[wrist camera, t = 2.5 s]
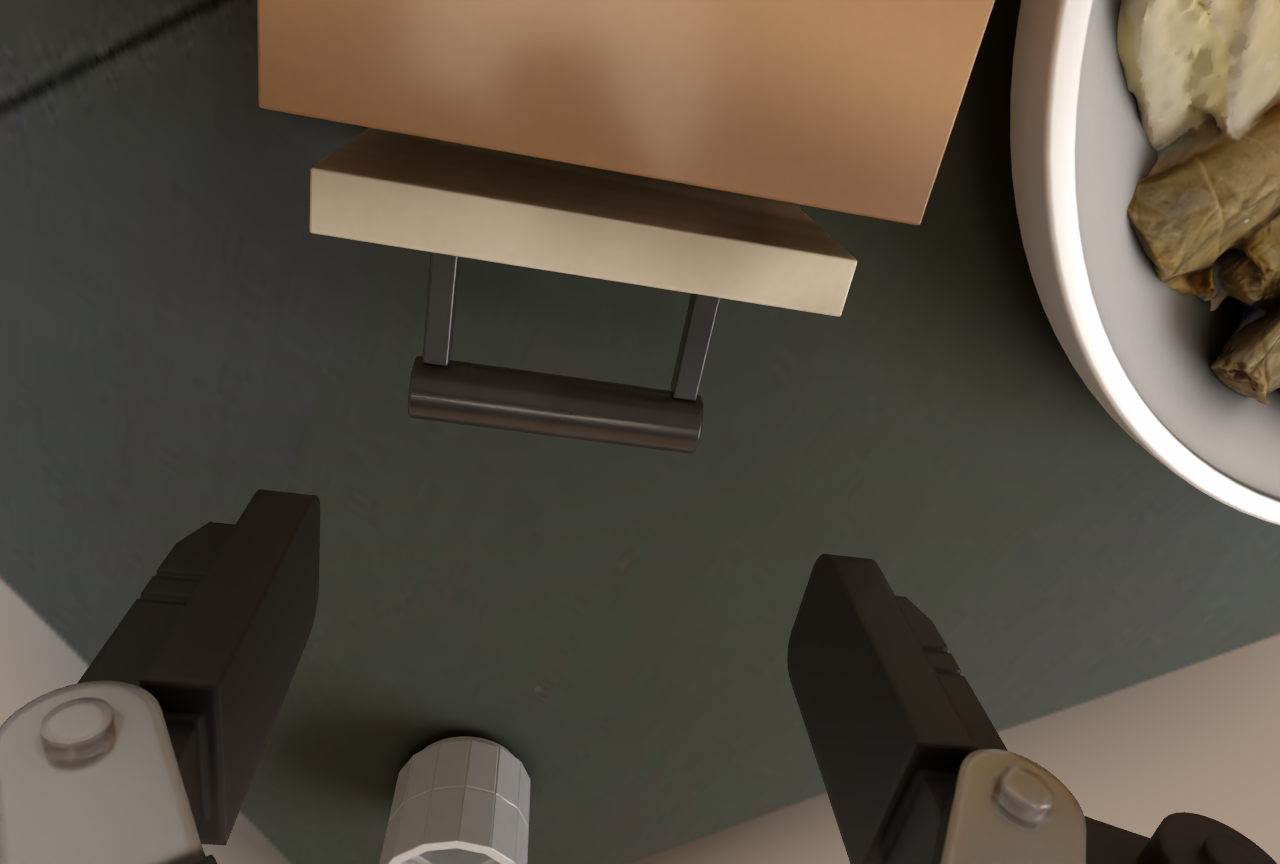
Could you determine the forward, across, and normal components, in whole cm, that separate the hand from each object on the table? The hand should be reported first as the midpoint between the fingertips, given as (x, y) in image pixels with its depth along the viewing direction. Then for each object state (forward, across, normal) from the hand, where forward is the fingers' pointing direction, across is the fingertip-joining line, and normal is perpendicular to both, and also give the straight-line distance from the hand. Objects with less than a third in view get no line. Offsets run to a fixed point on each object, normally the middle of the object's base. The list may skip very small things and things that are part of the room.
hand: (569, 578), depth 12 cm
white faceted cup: (+15, +1, +22) cm, 26 cm away
